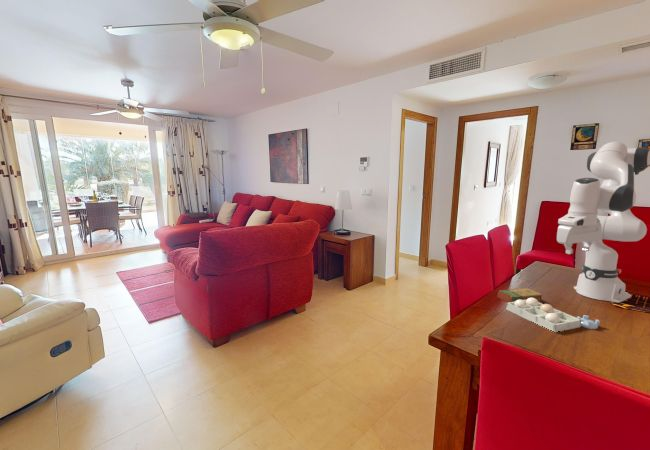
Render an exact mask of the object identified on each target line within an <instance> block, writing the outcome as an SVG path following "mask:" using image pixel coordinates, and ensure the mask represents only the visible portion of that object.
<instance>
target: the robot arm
mask: <svg viewBox="0 0 650 450" xmlns="http://www.w3.org/2000/svg"><path fill="white" fill-rule="evenodd" d="M585 163H586V164H585V165H586V169H587V171H589V172H590V173H592V175H593V176H594V177H595V178H594V177H583V178H577V179H576V180H574V181H573V184H572V187H571V189H570V190H571V191H570V195H569V204H570V205H569V208H568V210H567V211H568V212H567V214H565V215H564V216H562V217H560V218H558V219H557V220H558V221H557V224H558V227H557V232H556V241H557V243H559V244H562V245H563V246H564V248H565V254H567V255H571V254H572V255H573V254H574V249H573V248H572V247H573V244H579V243H582V244H583V246H582V248H581V250H582V252H585V259H584V264H583V266H582V268H581V269H582V273H580V274H579V275H578V279H577V283H576V285H574V286H573V289H574V290H575V291H576V293H578V294H579V295H580V296H584V297H586V298H590V299H594V300H598V301H605V302H606V301H607V302H612V303H622V302H624V301H626V300H629V299H630V298H632V294H630V293H628V292H626V288H627V287H626V283H625V282H623V281H622V280H621V279H620V278H619V276H618V274H621V273H622V269H621V268H617V264H618V259H619V254H618V252H617V251H616V250H615V249H614V248H612V247H610V246H608V245H607V244H605V243H604V241H603V240H607V241H615V242H616V241H619V242H638V241H640V240H642V239H643V238H644V237H645V236H646V235H647V231H648V228H647V226H646V224H645V222H644V221H643V220H641V219H639V218H638V217H637V216H635V215H634V213H633V212H632V211H631V209H632V208H633V207H634V205H636V202H637V194H636V191H635V176H638V175H639V174H640V173H641V172H643V171H645V170H646V169H648V168H649V167H650V148H648V147H644V146H643V147H642V146H640V147H627V145H626V144H625V143H623V142H620V141H610V142H607V143H605V144H603V145H602V146H601V147H600V148H599V149H598V150H597V151H595V152H592V153H591V154H589V156H588V157H587V159H586V162H585ZM601 179H602V182H601V181H600V180H601ZM600 182H601V183H600ZM599 210H600V211H602V212H604V213H607V214H608V215H598V213H599Z"/></svg>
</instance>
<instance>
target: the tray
mask: <svg viewBox="0 0 650 450" xmlns="http://www.w3.org/2000/svg"><path fill="white" fill-rule="evenodd" d="M524 301H525V302H526V300H524ZM514 303H515V302H509V303H507V302H506V308H505V310H506V311H509V312H511V313H512V314H515V315H517V316H519V317H521V318H523V319H525V320H527V321H529V322H531V321H532V322H531V323H533V322H534V324H535V323H536V325H537V324H538V325H537V326H540V327H542V326H543V327H542V328H544V327H545V328H544V329H546V328H547V329H546V330H548V329H549V330H548V331H550V330H552V331H554V332H555V333H559V332H558V331H560V332H564V330H565V331H567V330H569V331H570V330H574V329H579V328H581V327H582V326H581V319H578V318H577V316H573V315H571V314H568V313H567V312H564V311H561V310H559V309H557V308H554V307H553V309H554V314H556V315H558V316H559V318H560V323H558V324H553V323H551V322H549V321H547V320H545V316H546V315H547V314H548V313H546V312H544V311H542V310H540V307H541V305H543V303H542V302H539V305H538V306H537V307H533V306H530V305H528V304H527V308H525V309H521V308H518V307H516V306H515V305H514ZM552 331H551V332H552ZM554 332H553V333H554Z"/></svg>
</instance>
